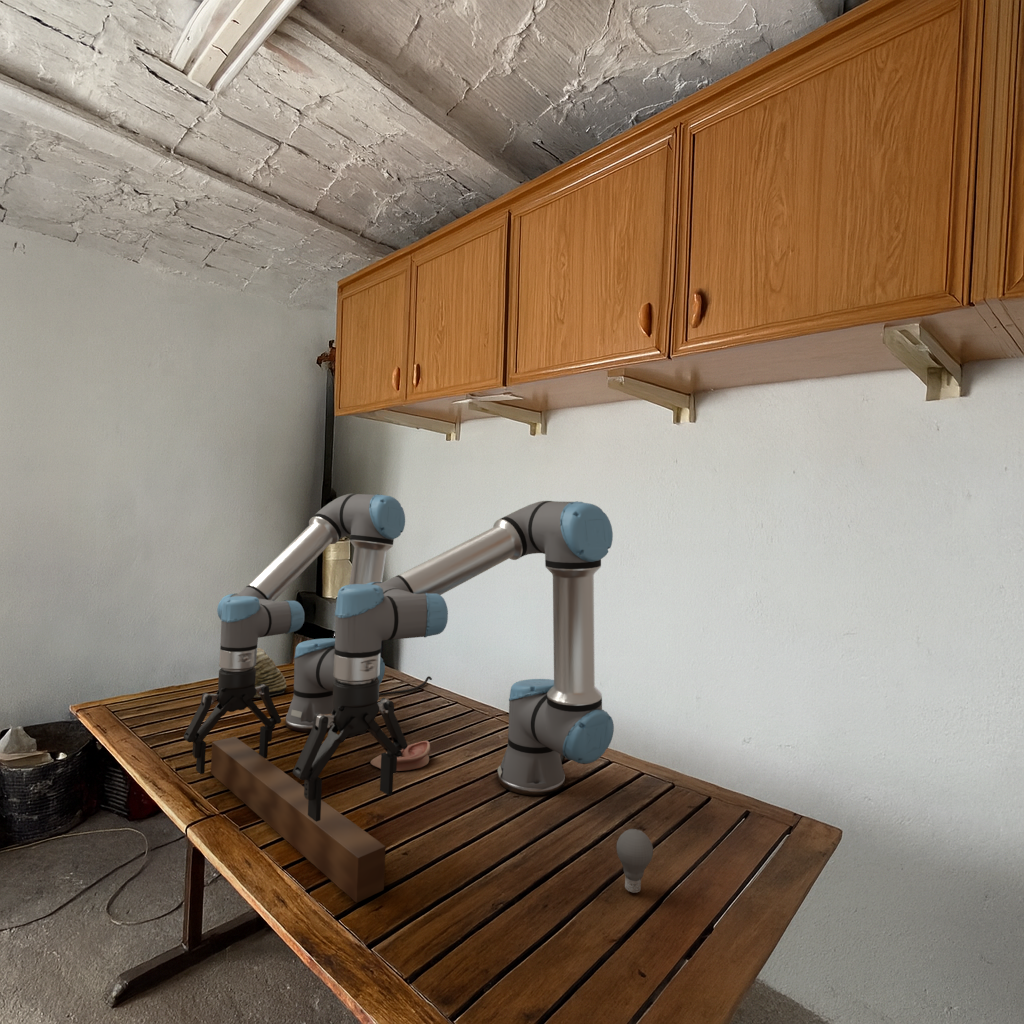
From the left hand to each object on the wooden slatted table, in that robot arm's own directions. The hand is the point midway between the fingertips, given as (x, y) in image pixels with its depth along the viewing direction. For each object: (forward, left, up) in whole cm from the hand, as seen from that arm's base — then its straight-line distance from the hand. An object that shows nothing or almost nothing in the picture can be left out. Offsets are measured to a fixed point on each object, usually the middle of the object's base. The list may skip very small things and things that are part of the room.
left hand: (232, 764), depth 139 cm
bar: (+2, +24, -4) cm, 24 cm away
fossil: (-34, -52, -4) cm, 62 cm away
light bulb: (-25, +85, -4) cm, 89 cm away
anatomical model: (-32, +19, -4) cm, 37 cm away
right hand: (+5, +48, +9) cm, 49 cm away
